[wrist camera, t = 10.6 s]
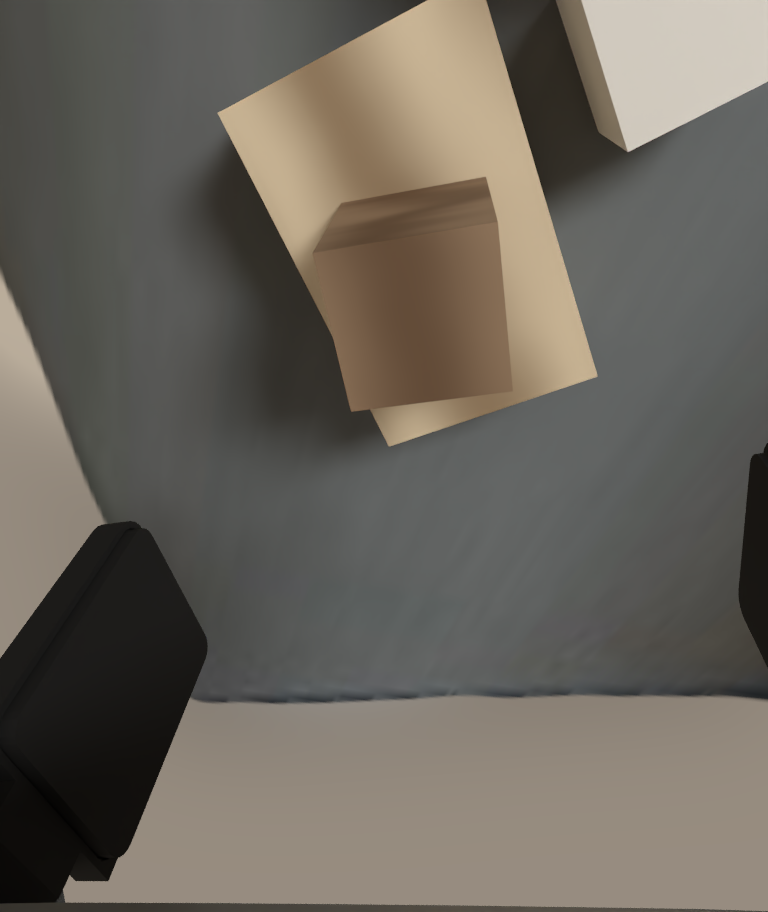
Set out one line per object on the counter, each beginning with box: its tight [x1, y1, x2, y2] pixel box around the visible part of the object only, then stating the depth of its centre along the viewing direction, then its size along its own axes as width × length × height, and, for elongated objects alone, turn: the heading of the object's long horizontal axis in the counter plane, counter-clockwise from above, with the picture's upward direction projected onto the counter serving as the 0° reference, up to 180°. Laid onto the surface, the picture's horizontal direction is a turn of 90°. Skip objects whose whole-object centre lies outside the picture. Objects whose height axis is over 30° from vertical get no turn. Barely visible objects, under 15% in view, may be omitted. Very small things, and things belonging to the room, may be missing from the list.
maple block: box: [218, 0, 597, 447], centre depth 26 cm, size 9×14×6 cm, turn 24°
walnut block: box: [312, 177, 513, 412], centre depth 21 cm, size 5×5×6 cm
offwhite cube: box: [556, 0, 768, 152], centre depth 22 cm, size 5×5×5 cm
